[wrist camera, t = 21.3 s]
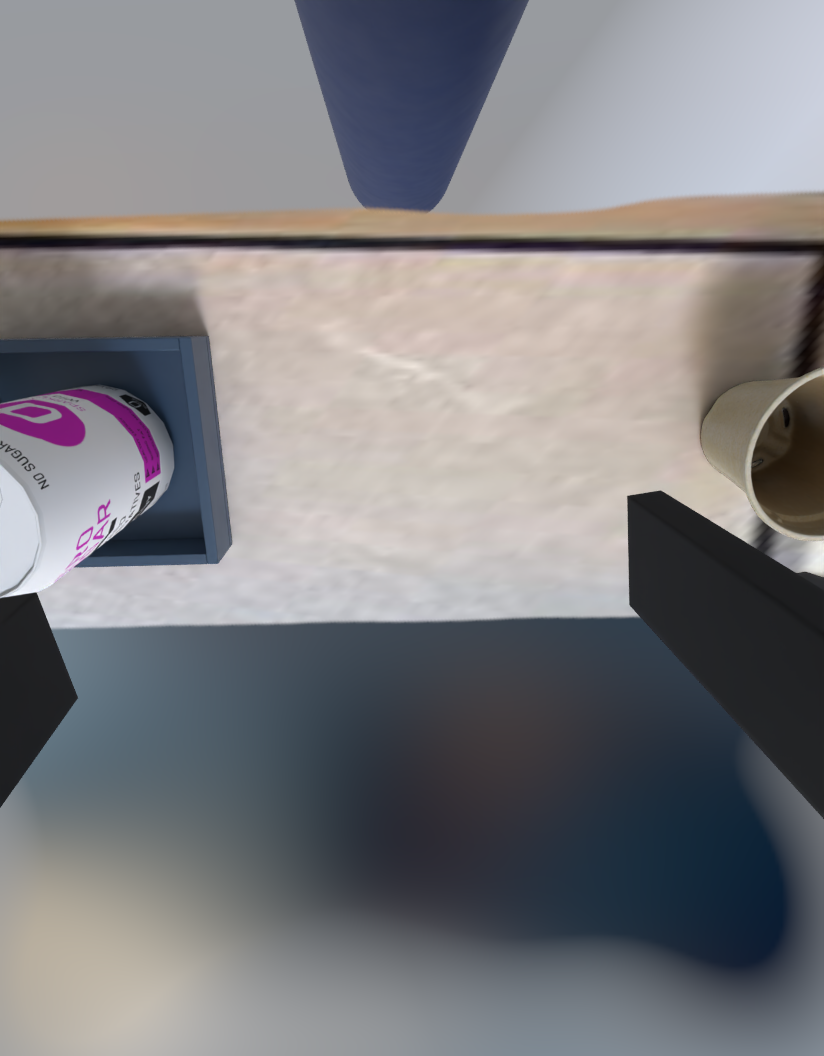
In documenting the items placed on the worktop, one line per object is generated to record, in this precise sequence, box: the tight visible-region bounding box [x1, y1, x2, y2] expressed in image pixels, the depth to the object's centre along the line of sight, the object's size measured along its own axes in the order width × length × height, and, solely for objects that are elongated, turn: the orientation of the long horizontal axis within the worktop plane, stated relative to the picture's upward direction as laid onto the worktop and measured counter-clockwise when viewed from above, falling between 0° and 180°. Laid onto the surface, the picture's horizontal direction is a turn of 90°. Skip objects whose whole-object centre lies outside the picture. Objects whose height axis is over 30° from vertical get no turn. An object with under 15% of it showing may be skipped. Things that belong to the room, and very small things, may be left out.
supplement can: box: [0, 385, 174, 598], centre depth 32 cm, size 8×8×15 cm
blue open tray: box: [0, 336, 232, 567], centre depth 38 cm, size 13×13×4 cm
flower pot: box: [701, 367, 824, 541], centre depth 36 cm, size 9×9×9 cm
